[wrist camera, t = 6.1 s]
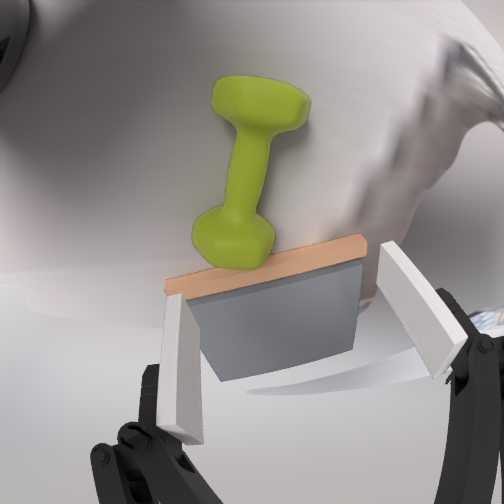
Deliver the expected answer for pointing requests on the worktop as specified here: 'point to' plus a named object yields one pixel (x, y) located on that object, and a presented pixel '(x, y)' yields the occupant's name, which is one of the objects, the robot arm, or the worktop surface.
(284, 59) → the worktop surface
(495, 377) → the robot arm
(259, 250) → the dumbbell
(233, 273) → the strip
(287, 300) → the board
